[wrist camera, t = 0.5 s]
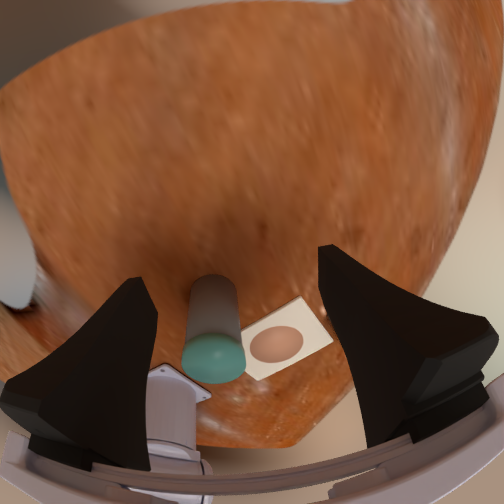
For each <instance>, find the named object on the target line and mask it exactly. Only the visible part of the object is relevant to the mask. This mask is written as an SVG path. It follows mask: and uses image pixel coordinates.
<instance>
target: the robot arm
mask: <svg viewBox="0 0 504 504" xmlns="http://www.w3.org/2000/svg"><path fill="white" fill-rule="evenodd" d="M318 287H319V291H320V294H321V297H322V300H323V304H324V307H325V309H326V312H327V314H328V316H329V318H330V320H331V323H332V325H333V327H334V329H335V332H336V334H337V336H338V338H339V341H340V343H341V345H342V347H343V350H344V352H345V355H346V357H347V360H348V364H349V367H350V370H351V374H352V377H353V381H354V385H355V388H356V392H357V396H358V400H359V405H360V409H361V414H362V419H363V424H364V430H365V436H366V442H367V449H365V450H362V451H359V452H356V453H352V454H349V455H345V456H342V457H338V458H334V459H331V460H326V461H322V462H317V463H313V464H308V465H303V466H298V467H293V468H286V469H280V470H272V471H264V472H254V473H242V474H227V475H213V471H212V468H211V466H210V465H209V464H208V462H207V461H206V460H204V459H200V452H199V451H196V403H198V402H200V401H203V400H206V399H208V398H210V397H211V393H210V392H208V391H206V390H205V389H203V388H202V387H200V386H199V385H197V384H195V383H194V382H192V381H191V380H189V379H188V378H186V377H185V376H184V375H182V374H181V373H179V372H178V371H176V370H175V369H173V368H172V367H171V366H169V365H168V364H163V365H161V366H159V367H157V368H155V369H153V370H151V371H149V368H150V362H151V357H152V352H153V348H154V343H155V338H156V331H157V318H158V312H157V310H156V308H155V306H154V304H153V301H152V299H151V297H150V295H149V293H148V291H147V289H146V287H145V284H144V282H143V280H142V278H141V277H135V278H129V279H127V280H126V281H125V282H124V283H123V284H122V285H121V286H120V287H119V288H118V289H117V290H116V291H115V292H114V293H113V294H112V295H111V296H110V297H109V299H108V300H107V301H106V302H105V303H104V304H103V305H102V306H101V307H100V308H99V309H98V311H97V312H96V313H95V314H94V315H93V316H92V317H91V318H90V319H89V320H88V321H87V322H86V323H85V324H84V325H83V326H82V327H81V328H80V329H79V330H78V331H77V332H76V333H75V334H74V335H73V336H72V337H70V338H69V339H68V340H67V341H66V342H65V343H64V344H62V345H61V346H60V347H59V348H57V349H56V350H55V351H53V352H52V353H51V354H50V355H48V356H47V357H46V358H44V359H43V360H41V361H40V362H38V363H37V364H35V365H34V366H32V367H31V368H29V369H27V370H26V371H24V372H22V373H20V374H18V375H16V376H15V377H13V378H11V379H9V380H7V382H6V384H5V386H4V388H3V391H2V394H1V396H0V408H1V409H2V411H3V412H4V413H5V414H7V415H8V416H9V417H10V418H11V419H13V420H14V421H15V422H16V423H18V424H19V425H20V426H22V427H23V428H24V429H26V430H27V431H29V432H30V433H31V437H30V439H29V438H28V437H26V436H24V435H22V434H19V433H17V432H14V431H12V430H9V433H8V436H7V440H6V444H5V448H4V452H3V456H2V461H1V466H0V477H1V478H3V479H4V480H6V481H7V482H9V483H10V484H12V485H13V486H15V487H17V488H18V489H20V490H21V491H23V492H24V493H25V494H27V495H29V496H30V497H32V498H33V499H35V500H36V501H38V502H39V503H41V504H211V503H212V500H213V496H218V495H219V496H220V495H246V494H258V493H267V492H276V491H283V490H290V489H296V488H302V487H307V486H312V485H317V484H321V483H326V482H330V481H334V480H338V479H341V478H345V477H349V476H352V475H355V474H359V473H362V472H365V471H368V470H371V469H374V468H375V469H374V470H371V471H369V472H366V473H363V474H361V475H358V476H355V477H353V478H350V479H347V480H344V481H341V482H338V483H335V484H334V485H333V488H332V489H330V490H329V491H328V495H329V499H328V500H324V501H319V502H314V503H309V504H433V503H434V502H436V501H438V500H439V499H441V498H443V497H444V496H446V495H447V494H449V493H450V492H452V491H453V490H455V489H456V488H458V487H459V486H460V485H462V484H463V483H465V482H466V481H467V480H469V479H470V478H471V477H472V476H474V475H475V474H477V473H478V472H479V471H480V470H482V469H483V468H484V467H485V466H486V465H488V464H489V463H490V462H491V461H492V460H493V459H495V458H496V457H497V456H498V455H499V454H500V453H501V452H502V451H503V450H504V373H503V374H501V375H500V376H499V377H497V378H496V379H494V380H493V381H492V382H490V383H489V384H488V385H487V386H486V387H485V388H484V386H483V384H482V381H483V380H484V375H483V373H482V371H481V369H482V368H483V366H484V365H485V364H486V362H487V361H488V360H489V358H490V356H491V355H492V354H493V352H494V351H495V349H496V347H497V345H498V341H499V335H498V334H497V332H496V331H495V330H494V328H493V327H492V326H491V324H490V323H489V321H488V320H487V319H486V318H485V317H482V316H478V315H474V314H469V313H465V312H460V311H457V310H454V309H450V308H447V307H444V306H441V305H438V304H436V303H433V302H430V301H428V300H426V299H423V298H421V297H418V296H416V295H414V294H412V293H410V292H408V291H406V290H404V289H402V288H400V287H398V286H396V285H394V284H392V283H390V282H389V281H387V280H385V279H384V278H382V277H380V276H379V275H377V274H375V273H374V272H372V271H371V270H369V269H368V268H366V267H365V266H363V265H362V264H360V263H359V262H358V261H356V260H355V259H353V258H352V257H350V256H349V255H348V254H346V253H345V252H343V251H342V250H341V249H339V248H338V247H336V246H335V245H333V244H331V245H325V246H320V247H318ZM376 467H377V468H376Z"/></svg>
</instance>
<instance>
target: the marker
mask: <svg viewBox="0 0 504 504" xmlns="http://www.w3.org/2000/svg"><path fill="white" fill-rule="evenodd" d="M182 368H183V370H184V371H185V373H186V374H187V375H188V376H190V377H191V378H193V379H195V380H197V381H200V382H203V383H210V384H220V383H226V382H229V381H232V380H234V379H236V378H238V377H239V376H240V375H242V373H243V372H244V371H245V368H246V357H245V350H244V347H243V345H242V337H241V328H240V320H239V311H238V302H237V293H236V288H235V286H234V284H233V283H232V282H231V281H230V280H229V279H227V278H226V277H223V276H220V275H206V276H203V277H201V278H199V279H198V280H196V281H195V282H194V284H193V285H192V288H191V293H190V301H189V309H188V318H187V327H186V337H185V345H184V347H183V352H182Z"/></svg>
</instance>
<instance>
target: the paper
mask: <svg viewBox="0 0 504 504" xmlns="http://www.w3.org/2000/svg"><path fill="white" fill-rule="evenodd" d="M241 337H242V345H243V347H244V350H245V357H246V368H245V372H246V373H248V374H249V375H250V376H252V377H253V378H254V379H256V380H257V381H259V380H261V379H263V378H265V377H267V376H269V375H271V374H273V373H275V372H277V371H279V370H281V369H283V368H285V367H287V366H289V365H291V364H293V363H295V362H297V361H299V360H301V359H303V358H305V357H307V356H308V355H310V354H312V353H314V352H316V351H317V350H319V349H321V348H323V347H325V346H326V345H328V344H330V343H332V342H333V339H332V337H331V336H330V335H329V333H328V332H327V331H326V329H325V328H324V327H323V325H322V324H321V323H320V321H319V320H318V318H317V317H316V316H315V314H314V313H313V312H312V310H311V309H310V308H309V306H308V305H307V304H306V302H305V301H304V300H303V298H302V297H301V296H298V297H297V298H295V299H293V300H292V301H290V302H288V303H287V304H285V305H283V306H282V307H280V308H278V309H277V310H275V311H273V312H272V313H270V314H268V315H266V316H265V317H263V318H261V319H259V320H258V321H256V322H254V323H252V324H251V325H249V326H247V327H245V328H244V329H242V330H241Z"/></svg>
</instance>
